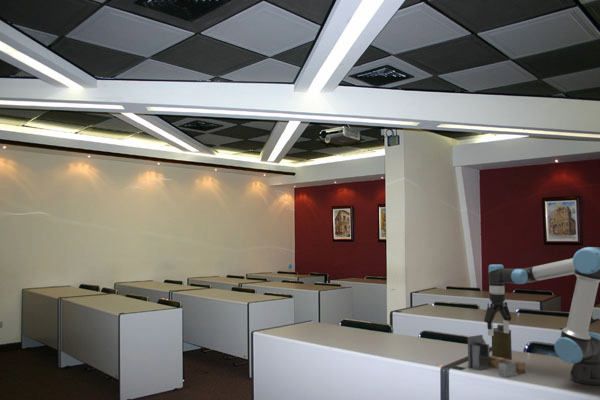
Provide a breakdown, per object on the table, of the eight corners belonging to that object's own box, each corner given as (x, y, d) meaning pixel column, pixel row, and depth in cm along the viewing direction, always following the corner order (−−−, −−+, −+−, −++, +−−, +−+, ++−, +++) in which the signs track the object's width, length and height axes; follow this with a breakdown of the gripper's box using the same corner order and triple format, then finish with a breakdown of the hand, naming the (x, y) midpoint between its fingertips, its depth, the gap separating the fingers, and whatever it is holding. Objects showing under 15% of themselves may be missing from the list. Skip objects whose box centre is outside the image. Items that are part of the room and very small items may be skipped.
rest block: (516, 374, 231) (515, 362, 231) (506, 377, 226) (506, 364, 227) (508, 373, 234) (508, 360, 234) (499, 375, 230) (498, 362, 230)
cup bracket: (491, 367, 244) (490, 336, 245) (477, 370, 238) (476, 338, 239) (481, 365, 249) (480, 334, 250) (468, 368, 243) (467, 336, 244)
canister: (514, 364, 250) (513, 326, 252) (494, 363, 252) (492, 326, 254) (509, 359, 261) (508, 323, 263) (490, 358, 263) (488, 322, 265)
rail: (525, 373, 234) (525, 362, 235) (519, 374, 231) (519, 364, 232) (493, 365, 249) (493, 355, 250) (487, 366, 246) (487, 356, 247)
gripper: (504, 291, 258) (506, 330, 255) (476, 294, 244) (477, 335, 242) (517, 292, 251) (519, 333, 249) (488, 295, 238) (490, 337, 236)
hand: (498, 334), depth 246 cm, fingers open, 13 cm apart
